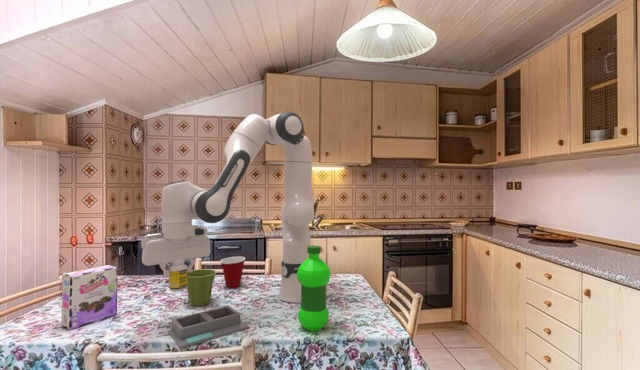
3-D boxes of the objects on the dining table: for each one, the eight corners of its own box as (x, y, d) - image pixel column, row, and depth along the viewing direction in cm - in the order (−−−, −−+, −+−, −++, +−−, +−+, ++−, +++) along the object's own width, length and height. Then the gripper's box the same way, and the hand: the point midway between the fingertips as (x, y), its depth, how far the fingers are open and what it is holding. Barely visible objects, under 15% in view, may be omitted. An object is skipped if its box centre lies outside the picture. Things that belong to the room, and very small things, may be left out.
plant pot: (223, 301, 124) (223, 271, 124) (195, 311, 114) (195, 279, 114) (203, 295, 131) (203, 267, 131) (175, 304, 121) (176, 273, 121)
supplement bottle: (181, 292, 102) (179, 261, 101) (165, 291, 103) (164, 260, 103) (191, 286, 107) (190, 256, 107) (176, 285, 108) (175, 256, 108)
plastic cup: (217, 284, 145) (218, 257, 145) (242, 281, 149) (242, 255, 149) (221, 291, 135) (221, 262, 135) (247, 288, 140) (248, 260, 140)
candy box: (69, 330, 99) (69, 276, 98) (61, 326, 102) (61, 273, 102) (117, 315, 110) (118, 266, 110) (108, 311, 113) (109, 264, 113)
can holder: (231, 315, 111) (231, 304, 111) (248, 328, 101) (248, 316, 101) (167, 332, 98) (167, 320, 98) (180, 348, 88) (180, 335, 88)
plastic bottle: (330, 320, 107) (330, 244, 107) (329, 335, 96) (329, 250, 96) (299, 319, 107) (300, 243, 107) (295, 334, 97) (295, 249, 97)
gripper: (143, 236, 96) (144, 283, 96) (212, 229, 109) (212, 270, 109) (138, 233, 100) (139, 279, 101) (205, 227, 114) (205, 267, 114)
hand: (178, 274), depth 105 cm, fingers closed on supplement bottle, 5 cm apart
